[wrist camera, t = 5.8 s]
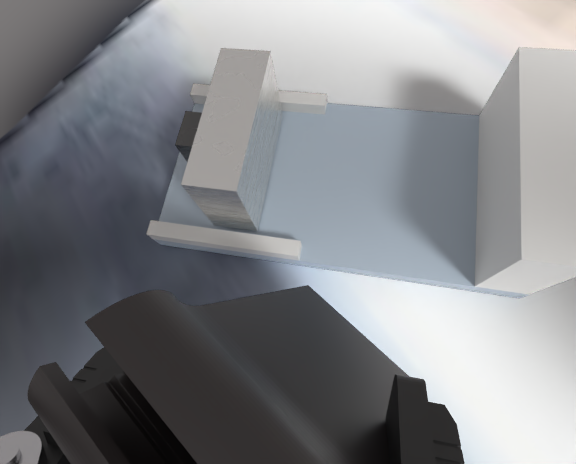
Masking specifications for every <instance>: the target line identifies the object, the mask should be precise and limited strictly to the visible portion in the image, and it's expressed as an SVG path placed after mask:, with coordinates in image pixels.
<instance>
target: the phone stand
mask: <svg viewBox="0 0 576 464" xmlns="http://www.w3.org/2000/svg"><path fill="white" fill-rule="evenodd" d="M85 323H86V324H87V326H88V327H89V328H90V329H91V331H92V332H93V333H94V334H95V336H96V337H97V338H98V339H99V341H100V342H101V343H102V344H103V346H104V347H105V348H106V350H107V351H108V352H109V353H110V355H111V356H112V357H113V358H114V360H115V361H116V362H117V363H118V365H119V366H120V367H121V368H122V370H123V371H124V373H120V374H117V375H114V376H113V377H112V378H111V380H110V381H109V382H103V383H101V384H99V385H97V386H96V387H94V388H92V389H89V390H87V391H85V392H82V393H80V394H79V393H78V392H77V390H76V389H75V388H74V386H73V385H72V383H71V382H70V381H69V379H68V378H67V377H66V375H65V374H64V372H63V371H62V370H61V368H60V367H59V366H58V364H57V363H56V362H55V363H51V364H46V365H42V366H40V367H39V368H38V370H37V371H36V373H35V374H34V376H33V378H32V380H31V383H30V385H29V389H28V400H29V402H30V404H31V405H32V407H33V408H34V410H35V411H36V413H37V414H38V416H39V417H40V419H41V420H42V422H43V423H44V425H45V426H46V428H47V429H48V431H49V432H50V434H51V435H52V437H53V438H54V440H55V441H56V443H57V444H58V446H59V447H60V449H61V450H62V452H63V453H64V455H65V456H66V458H67V459H68V461H69V462H70V464H390V457H389V448H388V439H387V431H386V422H385V420H386V413H387V408H388V404H389V399H390V394H391V389H392V385H393V380H394V376H395V374H397V375H402V376H408V375H407V374H406V373H405V372H404V371H403V370H401V369H400V368H399V367H398V366H397V365H396V364H395V363H394V362H393V361H392V360H390V359H389V358H388V357H387V356H386V355H385V354H384V353H383V352H382V351H380V350H379V349H378V348H377V347H376V346H375V345H374V344H373V343H372V342H370V341H369V340H368V339H367V338H366V337H365V336H364V335H363V334H362V333H360V332H359V331H358V330H357V329H356V328H355V327H354V326H353V325H352V324H350V323H349V322H348V321H347V320H346V319H345V318H344V317H343V316H342V315H340V314H339V313H338V312H337V311H336V310H335V309H334V308H333V307H332V306H331V305H329V304H328V303H327V302H326V301H325V300H324V299H323V298H322V297H321V296H319V295H318V294H317V293H316V292H315V291H314V290H313V289H312V288H311V287H309V286H308V285H307V286H302V287H297V288H292V289H286V290H281V291H276V292H270V293H265V294H260V295H255V296H249V297H244V298H239V299H234V300H228V301H223V302H218V303H212V304H207V305H201V306H191V305H186V304H184V303H182V302H180V301H179V300H178V299H177V298H176V297H175V296H174V295H173V294H172V293H170V292H168V291H164V290H152V291H146V292H142V293H139V294H136V295H133V296H130V297H128V298H126V299H123V300H121V301H119V302H117V303H115V304H113V305H111V306H109V307H108V308H106V309H104V310H103V311H101V312H99V313H98V314H96V315H95V316H93V317H92V318H90V319H89V320H87V321H86V322H85ZM408 377H409V376H408Z"/></svg>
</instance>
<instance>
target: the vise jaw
mask: <svg viewBox="0 0 576 464" xmlns="http://www.w3.org/2000/svg"><path fill="white" fill-rule="evenodd" d="M282 116H283V114H282V109H281V104H280V98H279V93H278V88H277V83H276V78H275V72H274V67H273V62H272V57H271V51H259V50H243V49H226V48H221V50H220V54H219V57H218V60H217V64H216V67H215V71H214V74H213V77H212V81H211V84H210V88H209V91H208V94H207V98H206V101H205V104H204V108H203V111H202V113H201V112H190V111H185V115H184V118H183V121H182V124H181V128H180V131H179V134H178V137H177V140H176V144H175V145H176V147H177V148H178V150H179V151H180V153H181V154H182V155H183V157H184V158H185V160H186V161H187V166H186V169H185V172H184V176H183V179H182V183H181V185H182V187H183V188H184V189H185V190H186V192H187V193H188V194H189V195H190V196H191V198H192V199H193V200H194V201H195V203H196V204H197V205H198V206H199V207H200V209H201V210H202V211H203V212H204V214H205V215H206V216H207V217H208V219H209V220H210V221H211V222H212V223H213V225H216V226H223V227H231V228H238V229H245V230H253V231H258V227H259V222H260V218H261V213H262V209H263V204H264V199H265V195H266V190H267V185H268V181H269V176H270V172H271V167H272V162H273V158H274V153H275V149H276V144H277V139H278V135H279V130H280V125H281V121H282Z"/></svg>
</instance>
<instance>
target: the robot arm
mask: <svg viewBox="0 0 576 464" xmlns="http://www.w3.org/2000/svg"><path fill="white" fill-rule="evenodd" d="M120 373H124V371H123V370H122V368H121V367H120V366H119V365H118V363H117V362H116V361H115V360H114V358H113V357H112V356H111V355H110V353H109V352H108V351H107V350H106V348H105V347H104V348H102V349H101V350H99V351H98V352H96V354H95V355H94V356H93V357H92V358H91V359H90V360H89V361H88V362H87V363H86V364H85V366H84V368H83V369H81V370H80V371H79V372H78V373H77V374H76V375H75V376H74V377H73V380H72V381H70V382H71V383H72V385H73V386H74V388H75V389H76V390H77V392H78V393H79V394H80V393H82V392H85V391H87V390H89V389H92V388H94V387H96V386H97V385H99V384H101V383H103V382H109V381H110V380H111V378H112V377H113V376H114V375H117V374H120ZM385 422H386V431H387V439H388V448H389V457H390V464H464V459H463V454H462V450H461V444H460V439H459V434H458V429H457V424H456V423H455V421H454V419H453V418H452V416H451V415H450V413H449V411H448V410H447V408H446V407H445V405H442V404H437V403H432V402H428V398H427V391H426V384H425V381H424V379H419V378H413V377H408V376H402V375H397V374H395V376H394V380H393V385H392V389H391V394H390V399H389V404H388V408H387V413H386V420H385ZM0 464H70V462H69V461H68V459H67V458H66V456H65V455H64V453H63V452H62V450H61V449H60V447H59V446H58V444H57V443H56V441H55V440H54V438H53V437H52V435H51V434H50V432H49V431H48V429H47V428H46V426H45V425H44V423H43V422H42V420H41V419H40V417H39V416H38V417H37V418H36V419H35V420H34V421H33V422H32V423H31V424H30V425H29V426H28V427H27V428H26V429H25V430H24V431H17V432H12V433H9V434H6V435H4V436H1V437H0Z"/></svg>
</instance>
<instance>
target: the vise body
mask: <svg viewBox="0 0 576 464" xmlns="http://www.w3.org/2000/svg"><path fill="white" fill-rule="evenodd" d="M209 88H210V85H205V84H193V86H192V89H191V93H190V96H191V98H192V100H193V102H194V106H193V110H192V112H201V113H202V111H203V108H204V104H205V101H206V98H207V94H208V91H209ZM278 93H279V98H280V104H281V109H282V114H283V116H282V121H281V125H280V130H279V135H278V139H277V144H276V149H275V153H274V158H273V162H272V167H271V172H270V176H269V181H268V185H267V190H266V195H265V199H264V204H263V209H262V213H261V218H260V222H259V227H258V231H253V230H245V229H238V228H231V227H223V226H216V225H213V223H212V222H211V221H210V220H209V219H208V217H207V216H206V215H205V214H204V212H203V211H202V210H201V209H200V207H199V206H198V205H197V204H196V203H195V201H194V200H193V199H192V198H191V196H190V195H189V194H188V193H187V192H186V190H185V189H184V188H183V187H182V185H181V183H182V179H183V176H184V172H185V169H186V166H187V161H186V160H185V158H184V157H183V155H182V154H181V153H180V152H179V156H178V159H177V162H176V165H175V169H174V172H173V175H172V179H171V182H170V185H169V188H168V192H167V195H166V198H165V201H164V205H163V208H162V211H161V215H160V218H159V221H154V220H151V221H150V224H149V227H148V231H147V235H148V236H149V237H151V238H152V239H153V240H155V241H156V242H158V243H159V244H160V245H167V246H173V247H180V248H187V249H193V250H200V251H207V252H213V253H220V254H227V255H234V256H240V257H247V258H254V259H260V260H267V261H274V262H280V263H287V264H294V265H301V266H307V267H314V268H321V269H327V270H334V271H341V272H347V273H354V274H361V275H368V276H374V277H381V278H388V279H394V280H401V281H408V282H414V283H421V284H428V285H435V286H441V287H448V288H455V289H461V290H468V291H475V292H481V293H488V294H495V295H501V296H508V297H515V298H522V297H525V296H527V295H530V294H533V293H535V292H538V291H541V290H543V289H546V288H548V287H551V286H554V285H556V284H559V283H562V282H564V281H567V280H570V279H572V278H575V277H576V50H564V49H545V48H527V47H519V48H518V50H517V52H516V53H515V55H514V57H513V58H512V60H511V62H510V64H509V65H508V67H507V69H506V70H505V72H504V74H503V76H502V77H501V79H500V81H499V82H498V84H497V86H496V88H495V89H494V91H493V93H492V95H491V96H490V98H489V100H488V101H487V103H486V105H485V107H484V108H483V110H482V112H481V113H480V115H467V114H455V113H443V112H430V111H418V110H406V109H393V108H381V107H369V106H356V105H344V104H332V103H327V94H321V93H308V92H295V91H282V90H278Z"/></svg>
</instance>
